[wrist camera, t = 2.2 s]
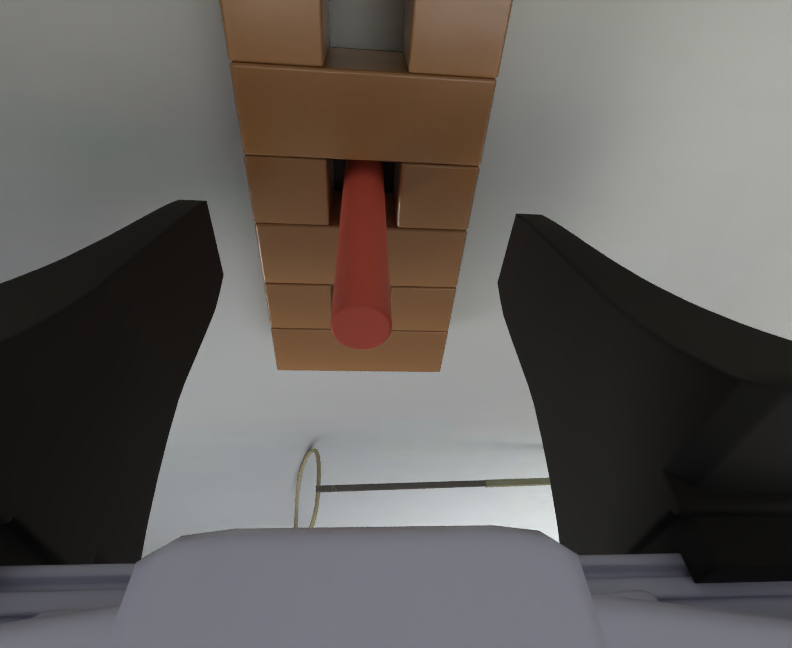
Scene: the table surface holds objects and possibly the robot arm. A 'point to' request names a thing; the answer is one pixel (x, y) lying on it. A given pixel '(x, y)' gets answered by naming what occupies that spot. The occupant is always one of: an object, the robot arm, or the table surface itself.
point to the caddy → (362, 140)
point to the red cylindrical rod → (362, 260)
